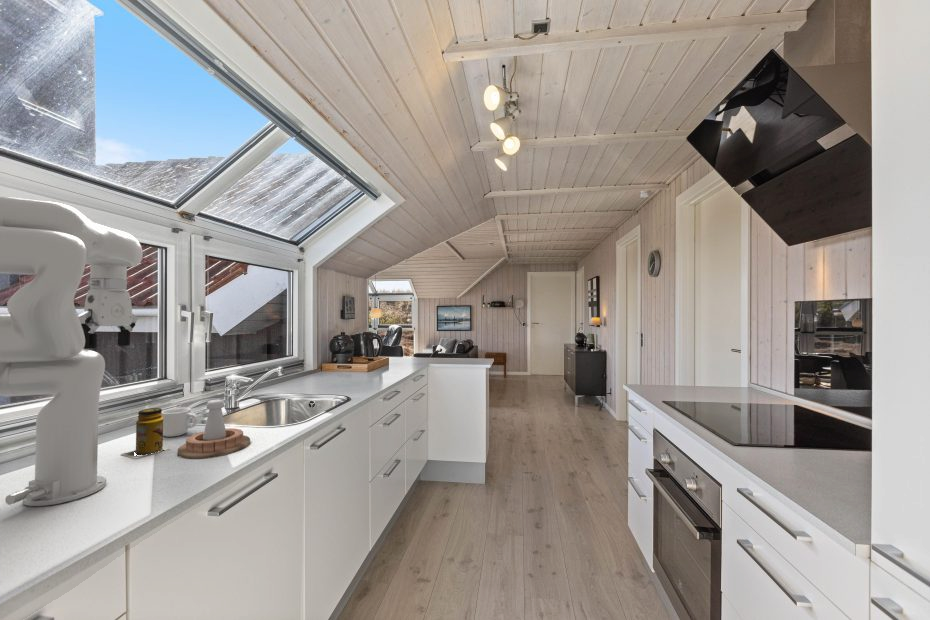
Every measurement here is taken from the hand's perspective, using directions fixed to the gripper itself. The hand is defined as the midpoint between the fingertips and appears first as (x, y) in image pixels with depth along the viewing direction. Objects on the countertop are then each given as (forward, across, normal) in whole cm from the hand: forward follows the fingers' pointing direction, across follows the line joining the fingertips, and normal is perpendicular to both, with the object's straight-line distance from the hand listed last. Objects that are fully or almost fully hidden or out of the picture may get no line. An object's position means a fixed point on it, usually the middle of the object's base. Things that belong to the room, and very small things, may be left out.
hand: (107, 346), depth 107 cm
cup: (+31, +19, -6) cm, 36 cm away
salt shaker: (+30, +8, -26) cm, 40 cm away
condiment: (+31, +3, -9) cm, 32 cm away
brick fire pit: (+30, +8, -26) cm, 41 cm away
